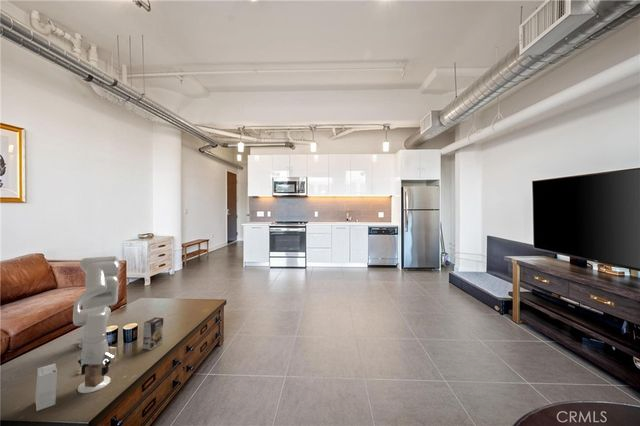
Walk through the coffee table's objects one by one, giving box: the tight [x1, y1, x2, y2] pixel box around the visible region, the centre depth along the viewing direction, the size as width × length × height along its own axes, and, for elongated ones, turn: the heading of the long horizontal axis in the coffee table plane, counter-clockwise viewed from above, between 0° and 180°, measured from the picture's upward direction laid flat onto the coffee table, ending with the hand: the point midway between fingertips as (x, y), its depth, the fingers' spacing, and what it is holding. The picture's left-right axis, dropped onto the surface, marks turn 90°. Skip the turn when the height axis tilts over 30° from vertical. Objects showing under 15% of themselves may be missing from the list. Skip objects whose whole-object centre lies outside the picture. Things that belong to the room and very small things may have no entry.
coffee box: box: [142, 316, 164, 351], centre depth 166 cm, size 9×6×16 cm
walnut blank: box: [84, 362, 106, 387], centre depth 128 cm, size 5×5×9 cm
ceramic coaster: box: [77, 375, 111, 394], centre depth 128 cm, size 12×12×1 cm
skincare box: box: [34, 363, 59, 412], centre depth 115 cm, size 8×6×15 cm
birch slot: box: [77, 346, 118, 375], centre depth 142 cm, size 10×12×8 cm
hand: (94, 373), depth 128 cm, fingers open, 9 cm apart
